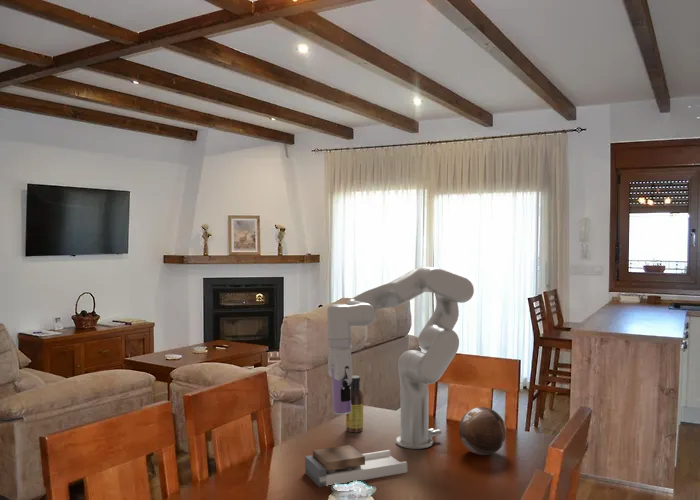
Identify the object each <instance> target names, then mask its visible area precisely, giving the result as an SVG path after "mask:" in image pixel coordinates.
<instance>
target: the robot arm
mask: <svg viewBox="0 0 700 500" xmlns="http://www.w3.org/2000/svg"><path fill="white" fill-rule="evenodd" d="M474 292H475V288H474V285H473V283H472V282H471V280H470V279H468V278H466V277H464V276H461V275H459V274H456V273H453V272H451V271H448V270H445V269H443V268H439V267H433V266H418V267H416V268H413V269H412V270H410V271H408V272H407V273H405V274H403V275H401V276H399V277H397V278H395V279H393V280H392V281H390V282H388V283H384V284H382V285H379V286H377V287H374V288H371V289H368V290H366V291H364V292H361V293H360V294H357V295H355V296H353V297H352V298H350V299H348V300H347V301H346V302H345V303H334V304H330V305H329V306H328V307H327V313H326V314H327V315H326V316H327V337H328V338H327V341H328V343H327V344H328V346H327V347H328V352H327V353H328V354H327V374H328V376H329V377H331V378H332V372H331V370H332V367H333V369H334V379H336V380H338V381H341V387H342V389H341V401H342V402H345V401H350V400H351V390H350V389H351V383H352V376H353V358H352V357H353V356H352V350H351V348H353V343H352V342H353V341H352V339H353V338H352V327H353V326H354V327H355V326H356V327H367V326H370V325H371V324H373V323H374V322H375V321H376V319H377V310H381V309H386V308H387V309H388V308H389V309H390V308H395V307H400V306H403V305H405V304H406V303H408V302H410V301H411V300H413V299H415V298H416V297H419V296H420V295H422V294H423V293H431V294H432V293H433V294H434V297H435V301H436V304H435V309H434V311H433V313H432V315H431V317H430V318H429V319H428V321H427V322H426V323H425V325H424V327H423V328H422V330H421V331H420V333H419V335H418V337H417V338H418V339H417V344H418V346H419V347H420V348H421V349H422V350H423V352H422V351H419V350H416V349H408V350H405V351H404V352H403V353H402V354H401V355H400V356H399V358H398V362H397V370H398V371H397V372H398V376H399V384H400V435H399V436H397V437H396V438H395V443H396V445H397V446H399V447H402V448H406V449H412V450H420V449H426V448H429V447H432V446H433V445H434V439H433V437H434V436H436V437H437V436H441V435H442V431H441V429H434V428H429V426H430V425H429V423H430V422H429V406H430V405H429V396H430V394H429V385H433V384H435V383H436V382H438V381H439V380H440V379H441V377H443V375H444V373H445V371H446V370H447V369H448V367H449V365H450V364H451V362H452V360H453V359H454V358H455V356H456V354H457V352H458V351H459V347H460V338H459V336H458V333H457V332H456V331H454V327H455V325H456V324H457V322H458V320H459V316H460V315H459V314H460V313H459V312H460V311H459V305H458V304H459V303H462V304H463V303H467V302H468V301H470V300H471V299H472V298H473V296H474V294H475V293H474ZM424 351H425V352H424ZM343 377H346V378H347V379H343ZM343 381H346V382H345V384H344V382H343Z"/></svg>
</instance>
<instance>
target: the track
mask: <svg viewBox="0 0 700 500" xmlns="http://www.w3.org/2000/svg"><path fill="white" fill-rule="evenodd" d="M361 454H362V455H364V456H365V465H360V466H361V469H356V470H352V469H351V468H349V467H348V468H342V469H336V470H335V471H336V473H333V474H326V468H325V467H324V466H323V465H321V464H320V463H319V462H318V461H317V460H316V459H315V458H314V457H313V454H312V455H305V456H304V459H305V460H304V461H305V463H304V465H305V466H304V469H305V471H304V472H305V474H306V476H308V477H309V479H311V481H313V483H315V485H317V487H319V488H320V487H321V488H323V487H322V486H327V487H329V486H328V485H332V484H333V483H344V484H348V483H347V482H349V483H351V482H350V481H352V480H361V481H367V480H371V479H377V478H381V477H382V478H384V477H389V476H393V475H399V474H406V473H408V462H407V461H406V460H405V461H399V460H398V459H396V458H394V457H393V456H391V450H390V449H385V450H380V451H374V452H367V453H361ZM332 486H333V485H332Z"/></svg>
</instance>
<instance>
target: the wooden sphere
mask: <svg viewBox="0 0 700 500" xmlns="http://www.w3.org/2000/svg"><path fill="white" fill-rule="evenodd" d="M458 426H459V427H458V433H459V439H460V440H461V443H462V445H464V447H465V448H466V449H467V450H468V451H470V452H471V453H473V454H476V455H479V456H489V455H493V454H494V453H496V452H498V451H499V450H500V449H501V448H502V447H503V446H504V443H505V441H506V438H507V426H506V423H505V422H504V419H503V417H502V416H501V415H500V414H499V413H498V412H497V411H495V410H494V409H492V408H489V407H486V406H478V407H473V408H471V409H469V410H468V411H466V412H465V413H464V415H463V416H462V418H461V420H460V422H459V425H458Z"/></svg>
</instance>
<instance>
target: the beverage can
mask: <svg viewBox="0 0 700 500" xmlns="http://www.w3.org/2000/svg"><path fill="white" fill-rule="evenodd" d="M331 372H332V377H331V395H332V397H331V398H332V399H331V400H332V412H333V413H334V414H335V415H338V416H343V415H345V416H346V414H349V413H350V412H351V400H350V401H345V402H342V401H341V389H342V387H341V381H338V380H336V379H334V369H333V367H332V370H331ZM343 379H347V378H346V377H343ZM343 382H344V384H345V382H346V381H343ZM350 390H351V389H350Z"/></svg>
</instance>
